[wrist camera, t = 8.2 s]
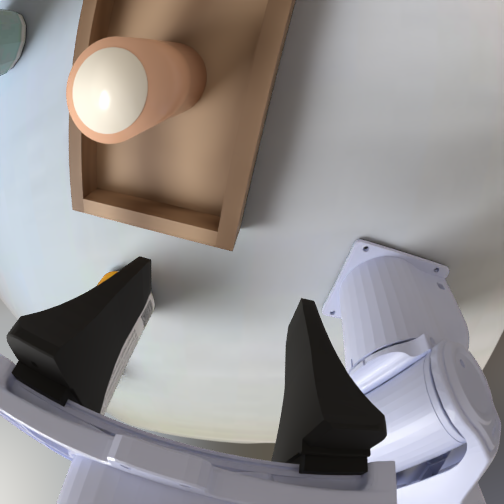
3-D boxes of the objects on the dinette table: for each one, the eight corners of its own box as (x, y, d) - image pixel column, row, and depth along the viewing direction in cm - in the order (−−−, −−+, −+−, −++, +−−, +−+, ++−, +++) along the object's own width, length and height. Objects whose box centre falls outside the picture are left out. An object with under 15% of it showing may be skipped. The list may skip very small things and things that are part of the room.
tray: (305, -37, 11) (306, -54, 9) (240, 229, 23) (232, 251, 20) (120, -42, 11) (98, -51, 9) (92, 193, 23) (72, 209, 20)
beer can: (97, 263, 27) (13, 383, 15) (149, 268, 26) (69, 410, 14) (115, 308, 30) (52, 421, 18) (163, 315, 30) (107, 445, 17)
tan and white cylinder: (214, 47, 15) (168, 37, 9) (198, 121, 18) (149, 153, 12) (141, 40, 14) (71, 38, 9) (130, 110, 17) (63, 138, 12)
